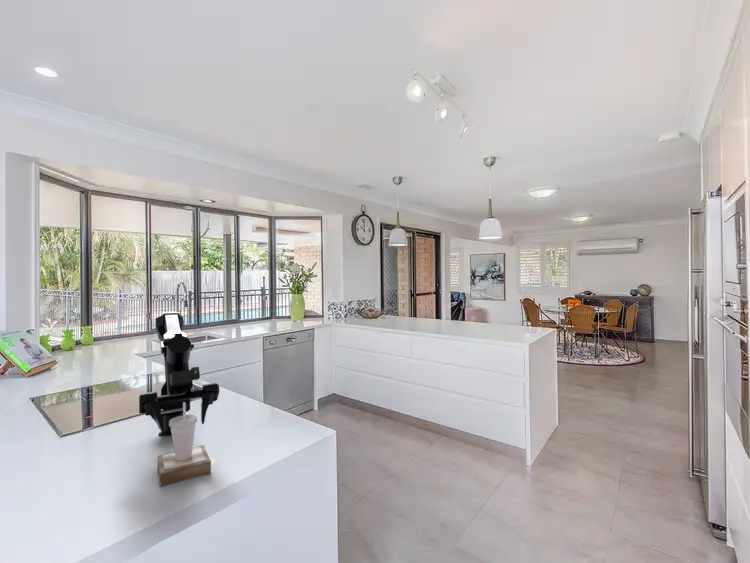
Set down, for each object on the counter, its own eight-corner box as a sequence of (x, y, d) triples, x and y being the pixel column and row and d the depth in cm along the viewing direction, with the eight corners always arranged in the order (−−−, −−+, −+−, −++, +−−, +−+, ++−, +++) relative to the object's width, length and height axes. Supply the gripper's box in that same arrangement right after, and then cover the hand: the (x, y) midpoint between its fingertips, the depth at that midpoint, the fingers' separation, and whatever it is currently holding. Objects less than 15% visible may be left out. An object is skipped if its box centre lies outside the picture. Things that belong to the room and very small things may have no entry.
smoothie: (179, 465, 93) (178, 407, 92) (163, 459, 96) (162, 403, 96) (202, 454, 98) (202, 400, 98) (187, 449, 101) (186, 396, 101)
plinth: (157, 467, 98) (157, 454, 98) (203, 456, 104) (203, 444, 104) (160, 486, 89) (160, 472, 89) (210, 473, 95) (210, 460, 95)
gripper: (138, 362, 96) (140, 419, 86) (217, 353, 106) (226, 404, 96) (138, 386, 102) (140, 441, 93) (213, 375, 112) (221, 425, 103)
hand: (183, 427), depth 96 cm, fingers open, 9 cm apart
